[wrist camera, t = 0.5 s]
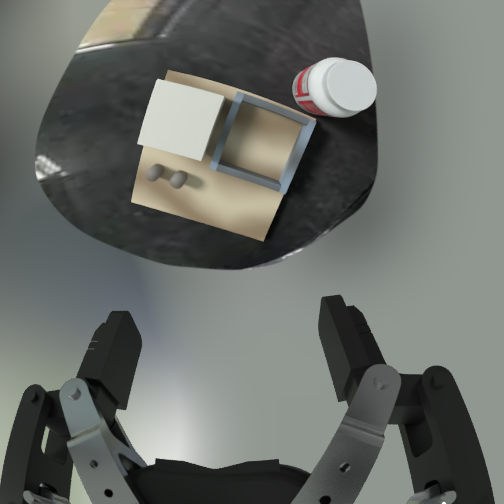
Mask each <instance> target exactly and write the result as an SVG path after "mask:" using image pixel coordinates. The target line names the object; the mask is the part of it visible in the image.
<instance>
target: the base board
mask: <svg viewBox="0 0 504 504" xmlns="http://www.w3.org/2000/svg"><path fill="white" fill-rule="evenodd" d="M164 81H169V82H173V83H178V84H182V85H186V86H190V87H194V88H198V89H201V90H205V91H209V92H212V93H215V94H219V95H222V96H225V98H226V99H225V101H224V104H223V107H222V109H221V112H220V115H219V117H218V120H217V123H216V125H215V128H214V131H213V134H212V137H211V139H210V142H209V145H208V148H207V151H206V154H205V156H204V157H203V159H202V161H199V160H195V159H192V158H188V157H185V156H181V155H178V154H174V153H171V152H167V151H163V150H160V149H156V148H152V147H148V146H144V147H143V151H142V155H141V159H140V163H139V167H138V172H137V176H136V181H135V185H134V190H133V195H132V200H131V202H133V203H137V204H140V205H144V206H147V207H151V208H154V209H158V210H161V211H164V212H168V213H171V214H175V215H178V216H181V217H185V218H188V219H191V220H195V221H198V222H202V223H205V224H208V225H212V226H215V227H218V228H221V229H225V230H228V231H231V232H235V233H238V234H241V235H245V236H248V237H251V238H254V239H258V240H261V241H264V239H265V236H266V234H267V232H268V229H269V227H270V225H271V223H272V220H273V218H274V216H275V213H276V211H277V209H278V206H279V204H280V202H281V200H282V197H283V195H284V194H286V192H287V190H288V187H289V185H290V183H291V180H292V178H293V176H294V173H295V171H296V169H297V167H298V164H299V162H300V160H301V157H302V155H303V153H304V150H305V148H306V146H307V143H308V141H309V139H310V136H311V134H312V132H313V129H314V127H315V125H316V122H315V121H316V119H314V118H312V117H310V116H308V115H306V114H303V113H301V112H299V111H296V110H294V109H291V108H289V107H287V106H284V105H282V104H279V103H277V102H274V101H271V100H269V99H266V98H263V97H261V96H258V95H255V94H252V93H249V92H246V91H243V90H240V89H237V88H234V87H231V86H228V85H224V84H221V83H218V82H214V81H211V80H207V79H203V78H200V77H196V76H192V75H188V74H183V73H179V72H175V71H170V70H168V72H167V75H166V77H165V80H164Z"/></svg>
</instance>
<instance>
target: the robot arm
mask: <svg viewBox="0 0 504 504" xmlns="http://www.w3.org/2000/svg"><path fill="white" fill-rule="evenodd" d="M318 330H319V336H320V340H321V343H322V346H323V350H324V353H325V357H326V360H327V363H328V367H329V370H330V374H331V377H332V380H333V385H334V388H335V392H336V395H337V399H338V402H341V401H346V400H347V404H348V407H349V408H348V410H347V412H346V414H345V416H344V418H343V420H342V422H341V424H340V426H339V427H338V429H337V431H336V433H335V435H334V437H333V438H332V440H331V442H330V444H329V445H328V447H327V449H326V451H325V452H324V454H323V456H322V457H321V459H320V461H319V462H318V464H317V465H316V467H315V469H314V470H313V472H312V473H311V474H310V473H308V472H307V471H304V470H302V469H300V468H297V467H293V466H289V465H282V464H279V459H274V460H263V461H248V462H244V463H240V464H236V465H232V466H228V467H224V468H219V469H211V468H207V467H203V466H199V465H196V464H192V463H188V462H185V461H177V460H165V459H157V458H156V460H155V464H154V465H149V466H148V465H147V464H146V463H145V461H144V460H143V459H142V458H141V457H140V456H139V455H138V453H137V452H136V451H135V449H134V448H133V446H132V444H131V442H130V441H129V439H128V437H127V435H126V433H125V431H124V429H123V428H122V426H121V424H120V422H119V420H118V418H117V416H116V415H115V414H116V410H117V409H121V410H126V408H127V404H128V399H129V395H130V391H131V387H132V383H133V379H134V375H135V371H136V367H137V363H138V359H139V356H140V352H141V348H142V339H141V335H140V333H139V331H138V329H137V327H136V325H135V322H134V320H133V318H132V316H131V314H130V313H129V311H112V312H111V313H110V314H109V316H108V319H107V321H106V323H102V324H101V325H100V326H99V328H98V329H97V330H96V331H95V333H94V335H93V337H92V340H91V343H90V344H89V347H88V350H87V352H86V354H85V356H84V359H83V361H82V364H81V366H80V369H79V371H78V374H77V377H76V378H73V379H70V380H68V381H66V382H65V383H64V384H63V386H62V387H61V389H60V390H55V391H49V392H46V391H45V390H44V389H43V388H42V387H41V386H40V385H37V384H34V385H31V386H29V387H28V388H27V389H26V390H25V392H24V393H23V396H22V399H21V402H20V405H19V408H18V411H17V414H16V417H15V420H14V424H13V427H12V431H11V434H10V438H9V442H8V446H7V451H6V456H5V460H4V465H3V471H2V477H1V484H0V504H70V502H69V496H70V485H71V477H72V470H73V463H74V465H75V467H76V470H77V472H78V474H79V476H80V479H81V481H82V483H83V485H84V488H85V490H86V492H87V494H88V496H89V498H90V500H91V502H92V504H353V503H354V501H355V500H356V498H357V496H358V494H359V492H360V491H361V489H362V487H363V485H364V483H365V481H366V479H367V477H368V475H369V473H370V471H371V469H372V467H373V465H374V463H375V461H376V459H377V457H378V454H379V452H380V450H381V448H382V445H383V442H384V438H385V437H384V431H385V429H386V426H387V424H398V426H399V429H400V433H401V437H402V440H403V444H404V448H405V452H406V456H407V461H408V465H409V469H410V474H411V479H412V484H413V488H414V495H413V496H412V497H411V498H410V499H409V500H408V501H407V503H406V504H495V502H494V497H493V491H492V487H491V482H490V478H489V475H488V470H487V467H486V463H485V460H484V456H483V453H482V450H481V446H480V443H479V440H478V437H477V434H476V432H475V429H474V426H473V423H472V421H471V418H470V415H469V413H468V410H467V408H466V405H465V403H464V400H463V398H462V396H461V393H460V391H459V389H458V386H457V384H456V382H455V380H454V378H453V376H452V374H451V373H450V372H449V370H447V369H446V368H444V367H442V366H431V367H429V368H428V369H426V370H425V372H424V373H423V374H422V375H420V374H400V373H398V372H397V370H396V369H394V368H393V367H391V366H389V365H387V364H386V362H385V360H384V358H383V356H382V354H381V351H380V349H379V347H378V345H377V343H376V341H375V338H374V336H373V334H372V333H371V330H370V328H369V326H368V325H367V322H366V319H365V317H364V315H363V313H362V312H360V311H359V310H358V309H357V308H356V307H355V306H354V305H353V306H346V305H345V302H344V300H343V298H342V296H341V295H334V296H326V297H322V299H321V306H320V314H319V322H318ZM45 427H48V428H49V429H50V430H49V434H48V439H47V443H46V448H45V453H43V452H42V449H41V444H42V439H43V435H44V431H45Z"/></svg>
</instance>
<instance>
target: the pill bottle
mask: <svg viewBox="0 0 504 504" xmlns="http://www.w3.org/2000/svg"><path fill="white" fill-rule="evenodd" d="M376 94H377V86H376V81H375V79H374V76H373V75H372V73H371V72H370V71H369V70H368V69H367V68H366V67H365V66H364V65H362V64H360V63H358V62H355V61H350V60H346V59H343V58H327V59H324V60H322V61H320V62H318V63H316V64H314V65H312V66H310V67H308V68H306V69H305V70H303V71H301V72H300V73H299V74H298V75H297V76H296V78H295V80H294V82H293V96H294V98H295V100H296V102H297V104H298V105H299V106H300V107H301V108H302V109H303V110H305V111H306V112H308V113H311V114H315V115H321V116H331V117H350V116H353V115H355V114H357V113H359V112H360V111H361V110H364V109H366V108H368V107H369V106H370V105H371V104H372V103H373V102H374V100H375V98H376Z"/></svg>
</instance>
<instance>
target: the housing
mask: <svg viewBox="0 0 504 504" xmlns="http://www.w3.org/2000/svg"><path fill="white" fill-rule="evenodd" d="M225 99H226V98H225V96H222V95H219V94H215V93H212V92H209V91H205V90H201V89H198V88H194V87H190V86H186V85H182V84H178V83H173V82H169V81H164V80H160V79H157V81H156V84H155V87H154V90H153V93H152V96H151V99H150V102H149V105H148V108H147V111H146V115H145V118H144V121H143V125H142V128H141V132H140V136H139V139H138V143H137V144H140V145H144V146H148V147H152V148H156V149H160V150H163V151H167V152H171V153H174V154H178V155H181V156H185V157H188V158H192V159H195V160H199V161H202V159H203V157H204V156H205V154H206V151H207V148H208V145H209V142H210V139H211V137H212V134H213V131H214V128H215V125H216V123H217V120H218V117H219V115H220V112H221V109H222V107H223V104H224V101H225Z"/></svg>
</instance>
